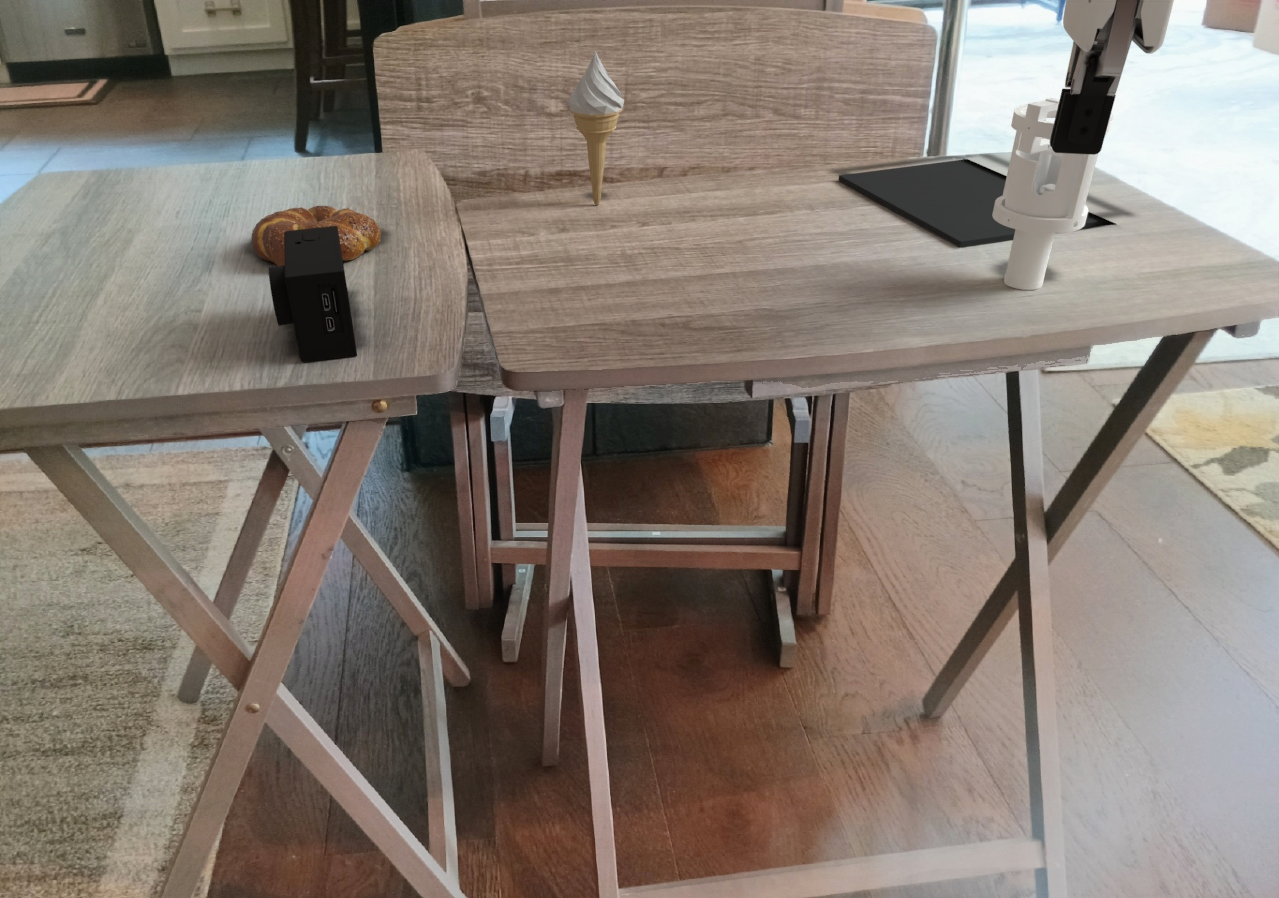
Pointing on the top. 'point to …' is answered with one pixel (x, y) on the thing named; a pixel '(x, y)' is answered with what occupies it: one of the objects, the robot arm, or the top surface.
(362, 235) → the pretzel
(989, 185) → the mat
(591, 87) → the ice cream cone
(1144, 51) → the robot arm
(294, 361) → the top surface
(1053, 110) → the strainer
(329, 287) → the digital camera
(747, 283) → the top surface
